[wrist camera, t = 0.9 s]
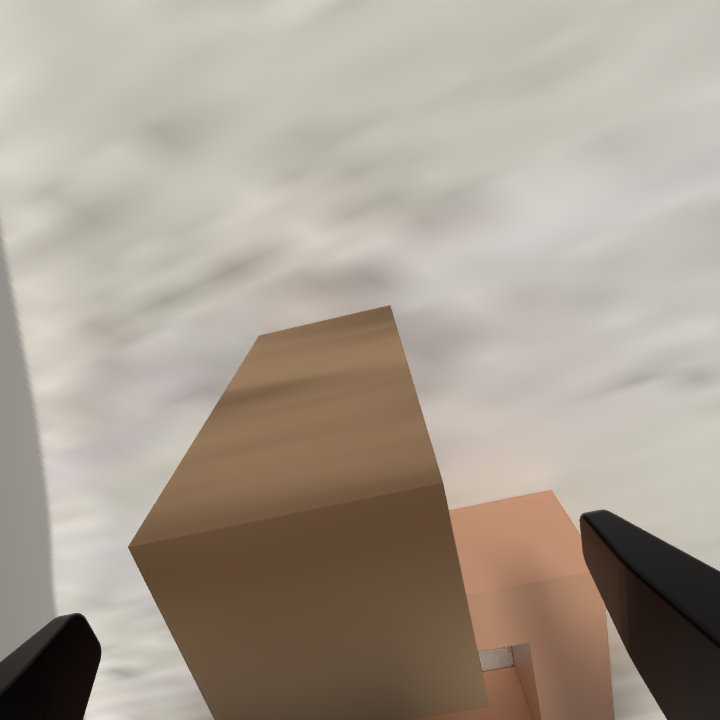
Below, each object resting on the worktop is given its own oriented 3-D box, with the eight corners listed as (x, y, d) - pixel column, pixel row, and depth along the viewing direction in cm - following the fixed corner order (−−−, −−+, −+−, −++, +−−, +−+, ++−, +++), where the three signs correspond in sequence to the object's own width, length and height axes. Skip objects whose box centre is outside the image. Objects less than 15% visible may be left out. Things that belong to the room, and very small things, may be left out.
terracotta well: (575, 694, 22) (620, 798, 19) (334, 735, 23) (330, 843, 19) (551, 490, 18) (602, 568, 15) (262, 548, 19) (240, 637, 15)
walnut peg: (415, 423, 17) (488, 706, 8) (296, 449, 18) (230, 750, 8) (390, 305, 16) (443, 482, 6) (259, 335, 16) (128, 547, 7)
